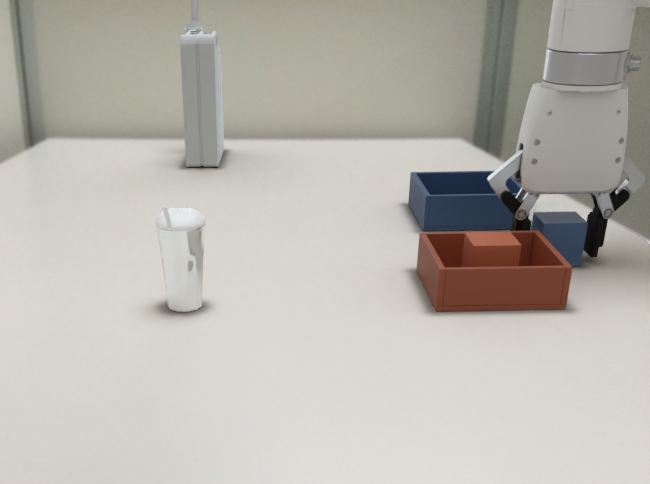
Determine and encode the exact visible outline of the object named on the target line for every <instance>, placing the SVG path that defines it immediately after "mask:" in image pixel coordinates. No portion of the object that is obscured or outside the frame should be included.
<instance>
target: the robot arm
mask: <svg viewBox="0 0 650 484" xmlns="http://www.w3.org/2000/svg"><path fill="white" fill-rule="evenodd" d="M639 7H640V8H650V0H552V6H551V12H550V20H549V27H548V34H547V42H546V49H545V56H544V63H543V69H542V76H541V82H535V83H533V84H532V85H531V88H530V91H529V94H528V97H527V100H526V105H525V107H524V113H523V116H522V119H521V125H520V128H519V132H518V133H519V134H518V138H517V143H516V149H515V153H513V155H512V156H510V157H509V158H508V159H507V160H506V161H505V162H503V163H502V164H501V165H500V166H499V167H497V168H496V169H495V170H493V171H494V172H493V173H492V174H490V175H489V176H488V178H487V182H488V184H489V185H490V186H491V188H492V189H493V190H494V192H495V193H496V194H497V196H498V197H499V199H500V200H501V201H502V202H503V203H504V205H505V206H506V207H507V208H508V209H509V210H510V211H511V213H512V214H513V219H512V227H511V230H510V231H531V226H532V220H530V218H528V217H529V216H530V212H531V211H532V209H533V207H534V206H535V205H536V203H537V201H538V199H539V198H540V196H541V195H585V194H587V195H589V196H590V200H591V202H592V206H593V208H592V211H589V213H588V214H587V217H586V221H587V222H588V226H587V232H586V238H585V243H584V249H583V252H584V253H585V254H587V256H588V257H590V258H598V255H599V249H600V248H603V246H604V244H605V238H606V233H607V227H608V223H609V219H611V218H612V217H613V216H614V214H615V212H617V210H619V209H620V208H621V207H622V206H623V205H624V204H625V203H626V202H628V201H629V199H630V198H631V196H632V195H633V194H635V193H636V192H637V191H638V190H639V189H640V188H641V187H642V186H643V185H644V184H645V182H647V176H646V175H645V173H644V172H643V171H642V170H641V169H640V168H639V167H638V166H637V164H636V163H634V161H633V160H632V158H630V157H629V156H628V154H626V150H627V149H626V147H627V141H628V139H627V138H628V126H629V124H628V123H629V86H628V85H627V84H625V83H624V82H623V81H626V78H627V75H628V74H629V73H632V72H638V71H639V70H640V67H641V63H642V57H641V56H640V55H633V54H631V49H629V48H630V43H631V37H632V33H633V28H634V27H633V26H634V21H635V16H636V12H637V11H636V10H637V8H639ZM622 174H624V175H625V178H624V181H622V183H621V184H620V181H621V178H622ZM512 175H513V179H514V181H515V182H517V183H519V184H521V185H522V188H521V189H520V191H519V192H518V194H517V196H516V197H515V196H514V195H513V194H512V193H511V192H510V190H509V189H508V187H507V186H506V181H507V180H508V179H509V178H510V177H511V176H512ZM619 184H620V186H619ZM610 191H611V192H610Z"/></svg>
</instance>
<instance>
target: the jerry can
mask: <svg viewBox="0 0 650 484" xmlns="http://www.w3.org/2000/svg"><path fill="white" fill-rule="evenodd" d="M190 8H191V9H190V13H191V14H190V15H191V20H190V21H189V22H188V23H185V28H184V34H181V35H180V36H179V37H180V38H179V49H180V68H181V69H180V70H181V90H182V110H183V114H182V115H183V131H184V154H185V166H186V168H195V167H196V168H201V167H203V168H208V167H209V168H210V167H212V168H216V167H219V166H220V162H221V160H222V157H223V153H224V151H225V136H224V135H225V133H224V96H223V62H222V61H223V60H222V59H223V58H222V57H223V56H222V51H221V47H220V45H219V39H218V32H217V31H216V30H213V31H212V32H210V33H207V32H205V31H204V27H203V23H201V22H200V21H199V0H190Z"/></svg>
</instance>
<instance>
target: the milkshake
mask: <svg viewBox="0 0 650 484" xmlns="http://www.w3.org/2000/svg"><path fill="white" fill-rule="evenodd" d="M155 227H156V228H155V229H156V234H157V240H158V246H159V252H160V258H161V265H162V272H163V281H164V288H165V295H166V303H167V307H168V308H169V310H171V311H174V312H177V313H188V312H193V311H198V310H199V309H200V308H202V306H203V284H204V283H203V282H204V281H203V280H204V252H205V251H204V249H205V235H206V233H205V232H206V217H205V216H204V214H203V213H202V212H201V211H198V210H197V209H196V208H193V207H170V208H167V207H162V210H161V211H160V212H159V213H158V214H157V216H156V218H155Z"/></svg>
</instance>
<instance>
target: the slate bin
mask: <svg viewBox="0 0 650 484" xmlns="http://www.w3.org/2000/svg"><path fill="white" fill-rule="evenodd" d="M494 171H495V170H459V171H457V170H456V171H455V170H452V171H449V170H448V171H411V172H410V174H409V188H408V189H409V190H408V201H407V202H408V203H407V204H408V207H409V208H410V210H411V212H412V215H414V217H415V219H416V221H417V223H418V225H419V226H420V228H421V230H422V231H423V232H455V231H511V227H512V219H513V214H512V213H511V211H510V210H509V209H508V208H507V207H506V206H505V205H504V203H503V202H502V201H501V200H500V199H499V197H498V196H497V194H496V193H495V192H494V190H493V189H492V188H491V186H490V185H489V184H488V182H487V178H488V176H489V175H490V174H492V173H493V172H494ZM506 186H507V187H508V189H509V190H510V192H511V193H512V194H513V195H514V196H515V197H516V196H517V194H518V192H519V191H520V189H521V188H522V185H521V184H519V183H517V182H515V181H514V179H513V175H512V176H511V177H510V178H509V179H508V180H507V181H506ZM528 218H529V217H528ZM529 219H530V218H529Z"/></svg>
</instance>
